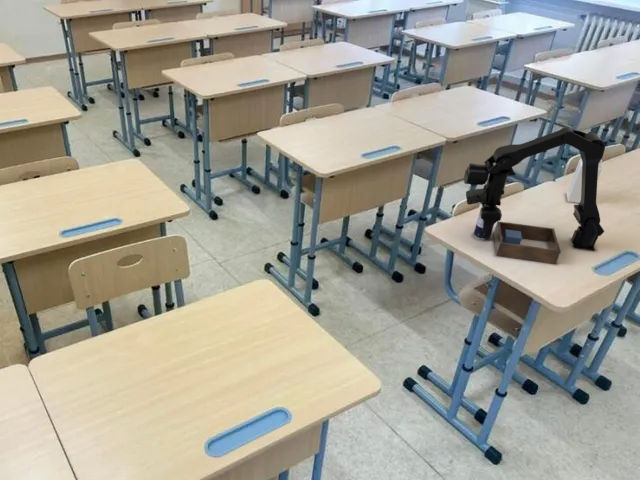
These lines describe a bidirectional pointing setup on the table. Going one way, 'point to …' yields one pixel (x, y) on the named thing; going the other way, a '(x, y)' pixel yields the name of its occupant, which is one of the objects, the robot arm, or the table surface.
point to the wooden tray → (527, 251)
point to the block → (512, 237)
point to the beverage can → (479, 228)
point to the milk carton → (578, 184)
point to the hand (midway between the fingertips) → (483, 225)
